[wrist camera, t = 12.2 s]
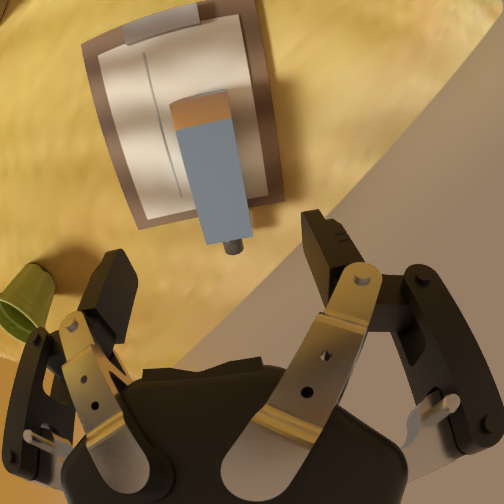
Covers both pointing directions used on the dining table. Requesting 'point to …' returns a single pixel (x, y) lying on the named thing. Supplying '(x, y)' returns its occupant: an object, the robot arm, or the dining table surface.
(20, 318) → the plant pot
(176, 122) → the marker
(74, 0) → the dining table surface
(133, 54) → the clipboard
